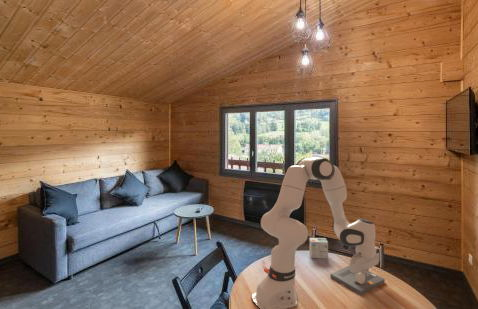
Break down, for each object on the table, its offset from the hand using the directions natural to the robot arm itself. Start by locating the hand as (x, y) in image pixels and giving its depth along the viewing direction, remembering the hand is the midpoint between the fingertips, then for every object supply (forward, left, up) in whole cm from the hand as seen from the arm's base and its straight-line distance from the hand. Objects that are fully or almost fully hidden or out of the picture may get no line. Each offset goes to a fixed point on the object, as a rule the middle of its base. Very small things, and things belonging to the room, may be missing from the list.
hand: (364, 276), depth 131 cm
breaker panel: (0, +4, -4) cm, 6 cm away
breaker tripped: (-4, 0, -2) cm, 4 cm away
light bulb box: (+3, +33, -4) cm, 33 cm away
